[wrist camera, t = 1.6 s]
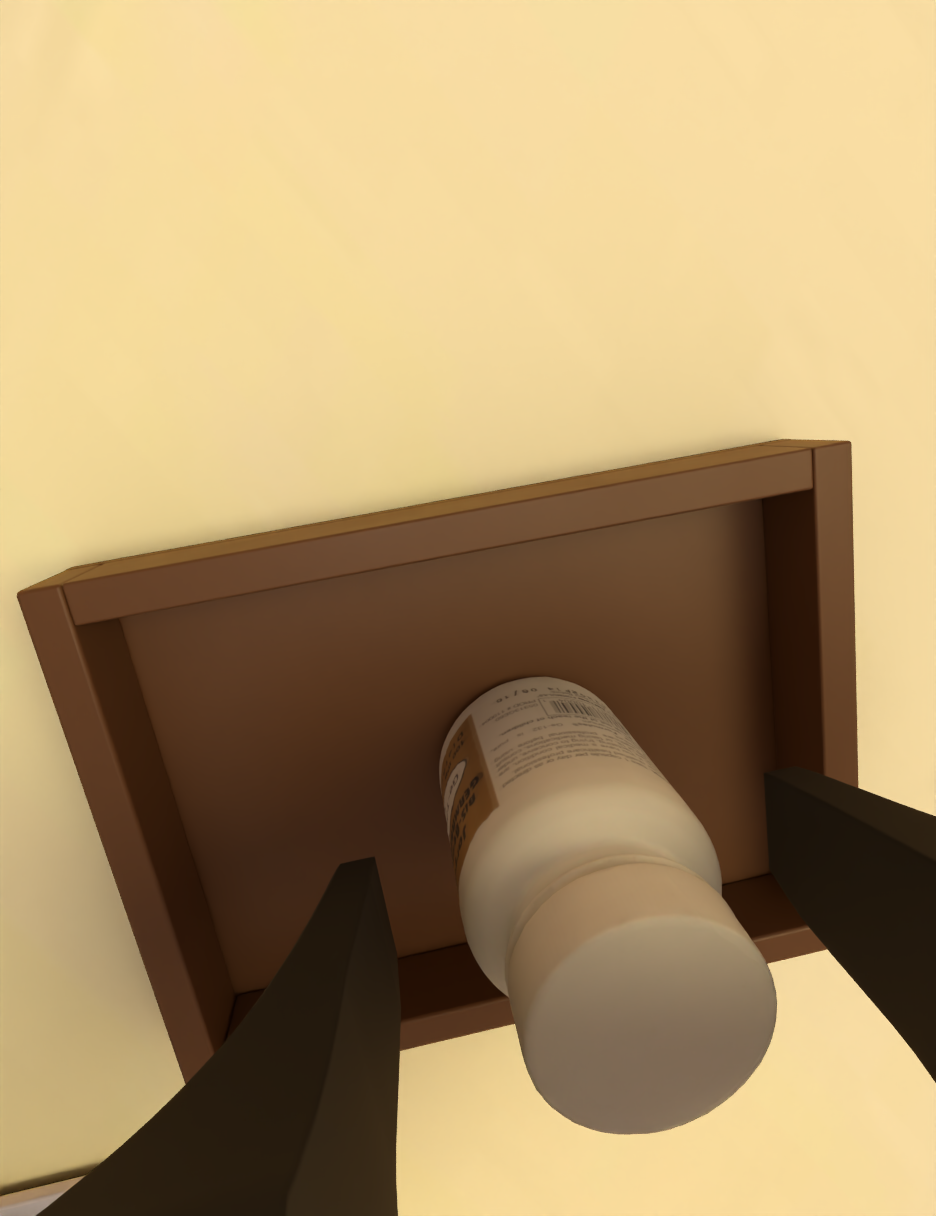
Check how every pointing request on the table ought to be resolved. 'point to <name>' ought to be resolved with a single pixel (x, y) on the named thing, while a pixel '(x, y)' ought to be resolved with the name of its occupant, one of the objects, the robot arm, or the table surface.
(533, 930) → the pill bottle
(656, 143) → the table surface
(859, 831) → the robot arm
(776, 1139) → the table surface
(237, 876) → the tray
